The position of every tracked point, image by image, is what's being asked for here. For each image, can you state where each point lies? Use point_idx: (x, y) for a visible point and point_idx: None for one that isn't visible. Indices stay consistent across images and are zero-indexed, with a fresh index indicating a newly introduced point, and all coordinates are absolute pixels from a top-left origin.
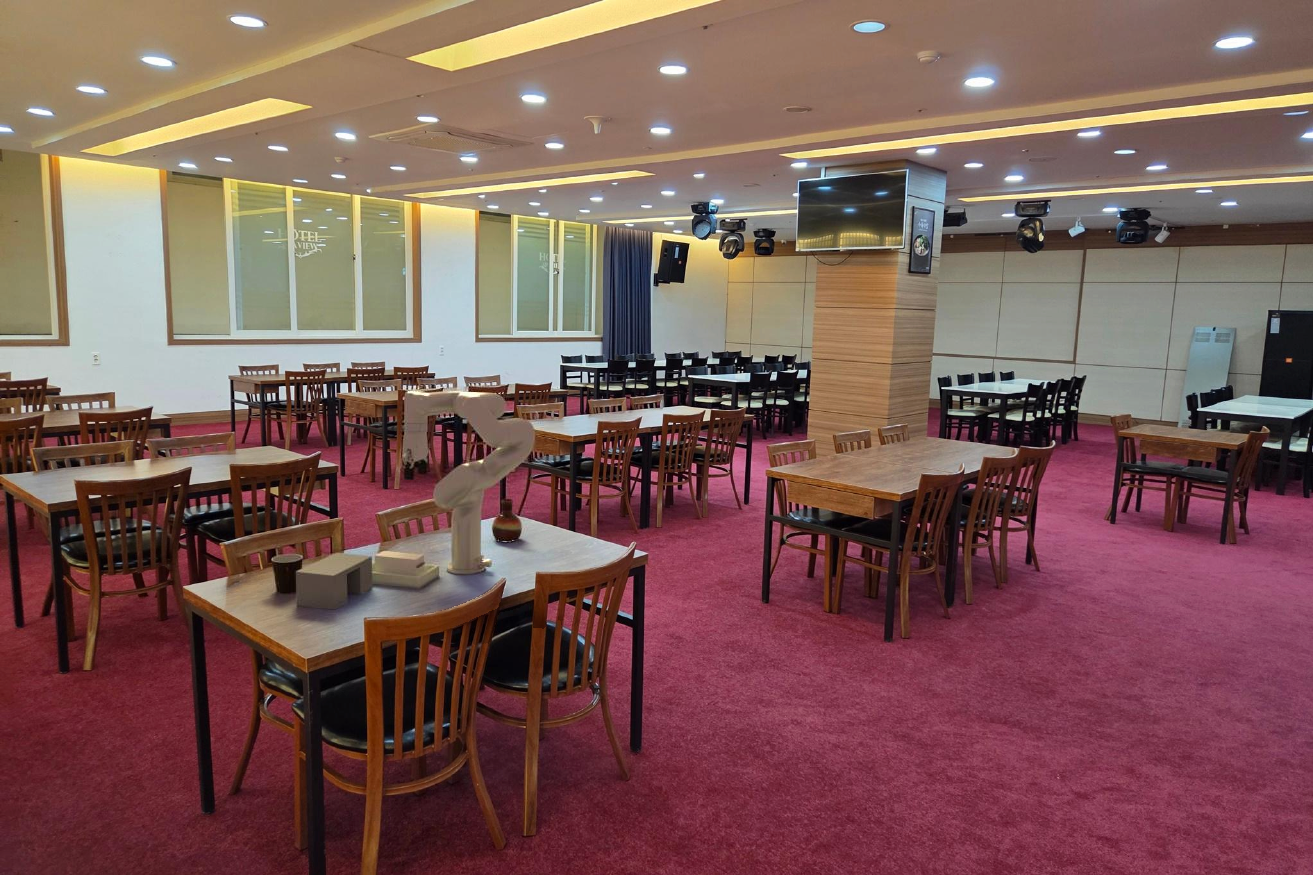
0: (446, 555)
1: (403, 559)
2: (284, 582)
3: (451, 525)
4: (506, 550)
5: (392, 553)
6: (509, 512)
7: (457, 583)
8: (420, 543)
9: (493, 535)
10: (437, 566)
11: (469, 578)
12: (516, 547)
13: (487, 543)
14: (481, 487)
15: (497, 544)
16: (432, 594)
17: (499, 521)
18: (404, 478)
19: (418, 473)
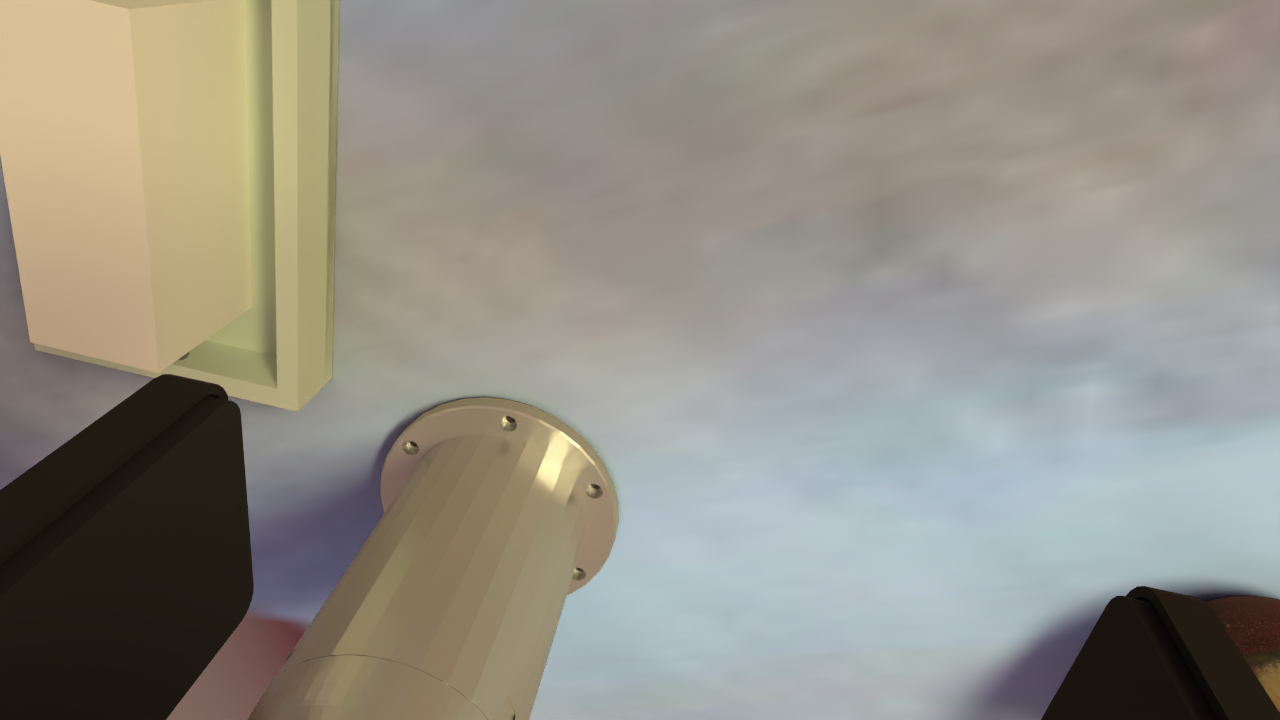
0: (796, 331)
1: (22, 247)
2: None
3: (338, 642)
4: (934, 664)
5: (91, 118)
6: None
7: (246, 491)
8: (1201, 20)
9: (1234, 607)
10: (279, 404)
11: (344, 535)
12: (1007, 709)
13: (1132, 549)
14: None
15: (1095, 609)
16: (39, 404)
17: None
18: (161, 379)
19: (1115, 606)
